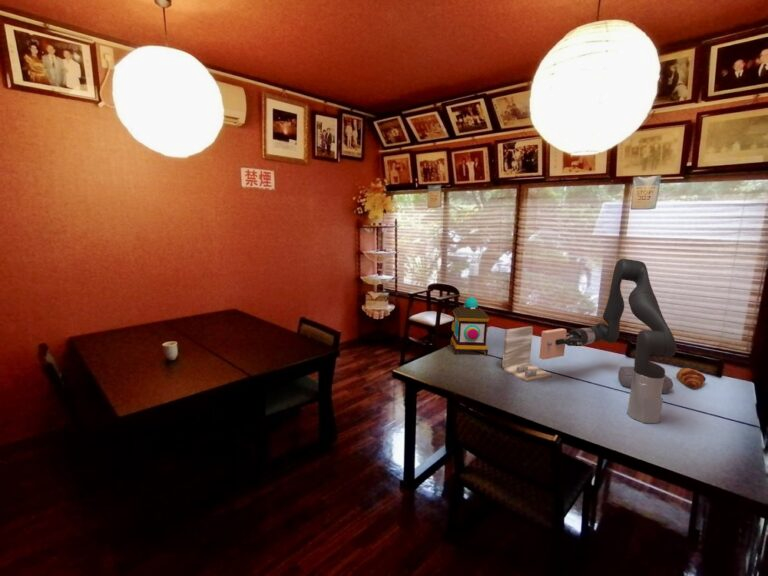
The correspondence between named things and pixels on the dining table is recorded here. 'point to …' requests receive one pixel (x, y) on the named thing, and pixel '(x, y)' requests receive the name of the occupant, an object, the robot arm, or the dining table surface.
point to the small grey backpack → (627, 375)
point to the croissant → (690, 377)
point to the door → (552, 343)
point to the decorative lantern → (469, 327)
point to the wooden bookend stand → (520, 355)
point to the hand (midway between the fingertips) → (553, 341)
